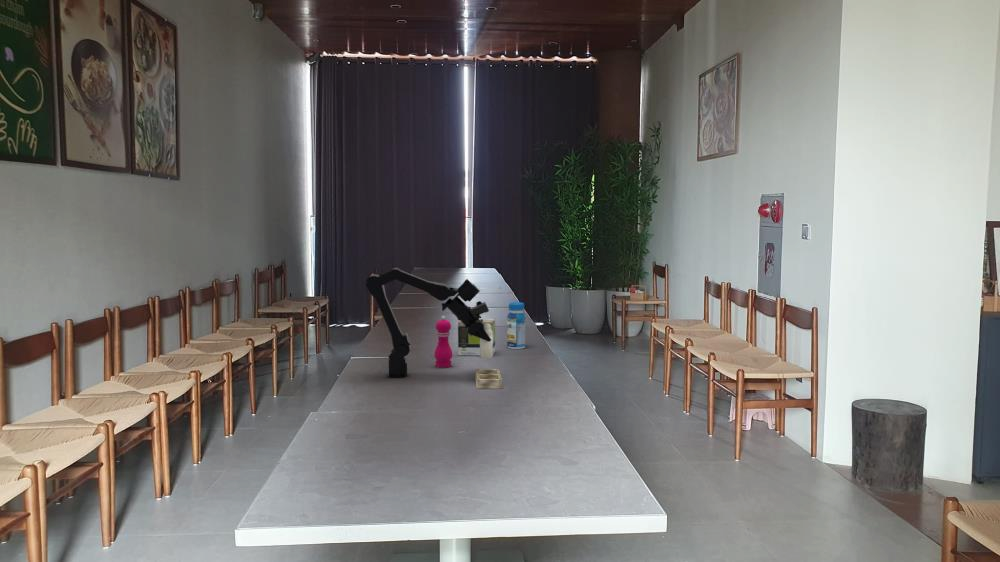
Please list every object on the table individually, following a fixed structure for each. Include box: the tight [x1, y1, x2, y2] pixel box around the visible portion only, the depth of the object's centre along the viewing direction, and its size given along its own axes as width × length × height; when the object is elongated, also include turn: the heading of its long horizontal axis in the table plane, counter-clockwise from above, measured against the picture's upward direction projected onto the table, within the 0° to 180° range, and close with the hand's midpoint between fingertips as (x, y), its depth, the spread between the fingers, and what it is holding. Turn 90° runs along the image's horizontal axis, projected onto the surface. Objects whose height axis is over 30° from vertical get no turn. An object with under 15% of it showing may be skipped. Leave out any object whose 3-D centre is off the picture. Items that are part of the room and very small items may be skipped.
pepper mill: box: [433, 315, 453, 368], centre depth 297 cm, size 7×7×20 cm
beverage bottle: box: [506, 301, 527, 350], centre depth 335 cm, size 8×8×20 cm
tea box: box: [457, 318, 496, 357], centre depth 321 cm, size 15×10×15 cm, turn 84°
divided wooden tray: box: [474, 368, 504, 390], centre depth 271 cm, size 9×17×3 cm, turn 4°
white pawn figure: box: [479, 323, 494, 359], centre depth 281 cm, size 5×5×13 cm
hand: (490, 339), depth 281 cm, fingers closed on white pawn figure, 5 cm apart
